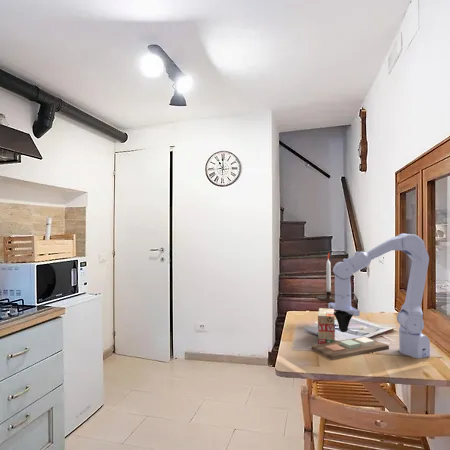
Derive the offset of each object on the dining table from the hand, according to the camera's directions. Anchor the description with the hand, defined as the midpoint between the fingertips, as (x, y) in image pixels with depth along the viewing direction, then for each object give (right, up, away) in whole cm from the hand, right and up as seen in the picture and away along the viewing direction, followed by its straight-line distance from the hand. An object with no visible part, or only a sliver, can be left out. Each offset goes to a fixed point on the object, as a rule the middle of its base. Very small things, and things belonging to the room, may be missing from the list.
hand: (343, 331), depth 135 cm
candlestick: (+4, -8, +32) cm, 33 cm away
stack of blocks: (-2, -8, +16) cm, 18 cm away
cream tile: (+9, -7, +4) cm, 12 cm away
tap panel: (+3, -8, +1) cm, 9 cm away
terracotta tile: (-4, -8, -1) cm, 9 cm away
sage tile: (+3, -7, +1) cm, 7 cm away
